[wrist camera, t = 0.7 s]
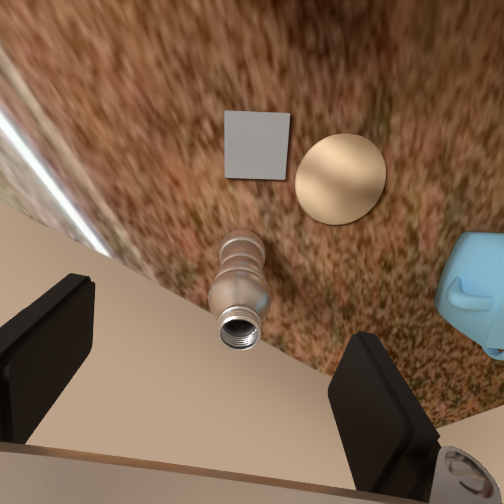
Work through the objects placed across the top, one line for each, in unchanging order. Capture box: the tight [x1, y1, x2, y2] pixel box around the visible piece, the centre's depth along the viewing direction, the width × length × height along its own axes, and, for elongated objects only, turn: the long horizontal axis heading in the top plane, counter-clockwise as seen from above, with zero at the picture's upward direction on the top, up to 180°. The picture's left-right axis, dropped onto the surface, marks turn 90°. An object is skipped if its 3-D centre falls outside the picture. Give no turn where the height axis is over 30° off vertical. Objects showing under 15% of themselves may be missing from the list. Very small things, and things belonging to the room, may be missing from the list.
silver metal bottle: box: [208, 229, 272, 351], centre depth 34 cm, size 6×7×20 cm
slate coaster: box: [225, 111, 290, 180], centre depth 38 cm, size 8×8×1 cm
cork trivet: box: [295, 134, 386, 225], centre depth 40 cm, size 12×12×1 cm
